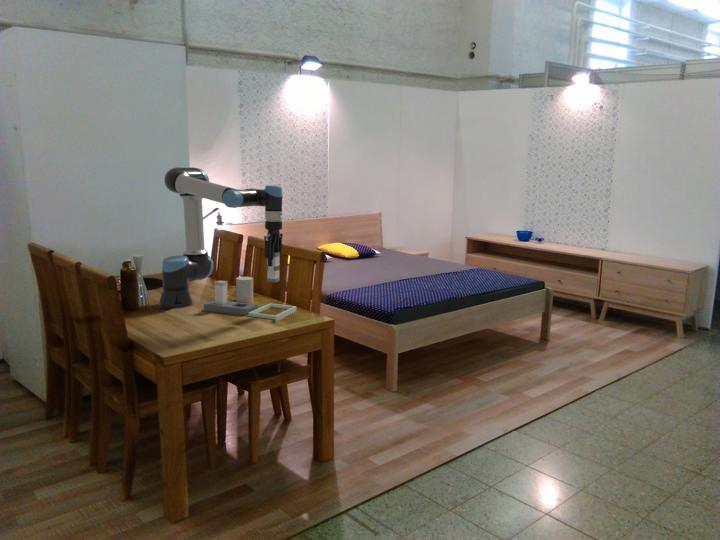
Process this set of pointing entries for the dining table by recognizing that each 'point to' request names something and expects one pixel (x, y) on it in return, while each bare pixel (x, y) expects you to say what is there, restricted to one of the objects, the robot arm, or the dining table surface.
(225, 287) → the cylinder
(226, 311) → the fuse holder
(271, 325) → the dining table surface
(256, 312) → the pale green rectangular frame
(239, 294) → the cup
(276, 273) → the fuse
